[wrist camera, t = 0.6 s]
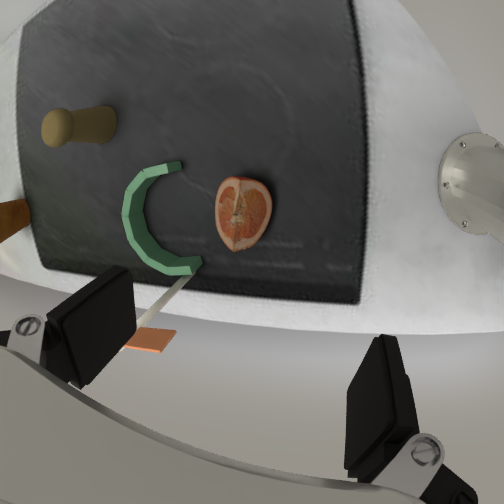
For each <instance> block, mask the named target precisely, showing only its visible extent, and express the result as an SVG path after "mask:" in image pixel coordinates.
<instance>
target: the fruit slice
mask: <svg viewBox="0 0 504 504" xmlns="http://www.w3.org/2000/svg"><path fill="white" fill-rule="evenodd" d="M271 212H272V199H271V196H270V193H269V191H268V190H267V188H266V187H265V186H264V185H263V184H262V183H261V182H259V181H256V180H254V179H251V178H247V177H239V176H237V177H229V178H227V179H225V180H224V181H223V182H222V183H221V185H220V186H219V189H218V192H217V195H216V202H215V220H216V227H217V230H218V233H219V235H220V237H221V238H222V240H223V242H224V243H225V244H226V245H227V246H228V248H229V249H230V250H232V251H233V252H236V251H238V250H241V249H243V250H244V249H246V248H250V247H252V246H253V245H254V244H255V243H256V242H257V241H258V239H259V238H260V237H261V235H262V234H263V232H264V231H265V229H266V227H267V225H268V222H269V220H270V216H271Z"/></svg>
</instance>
